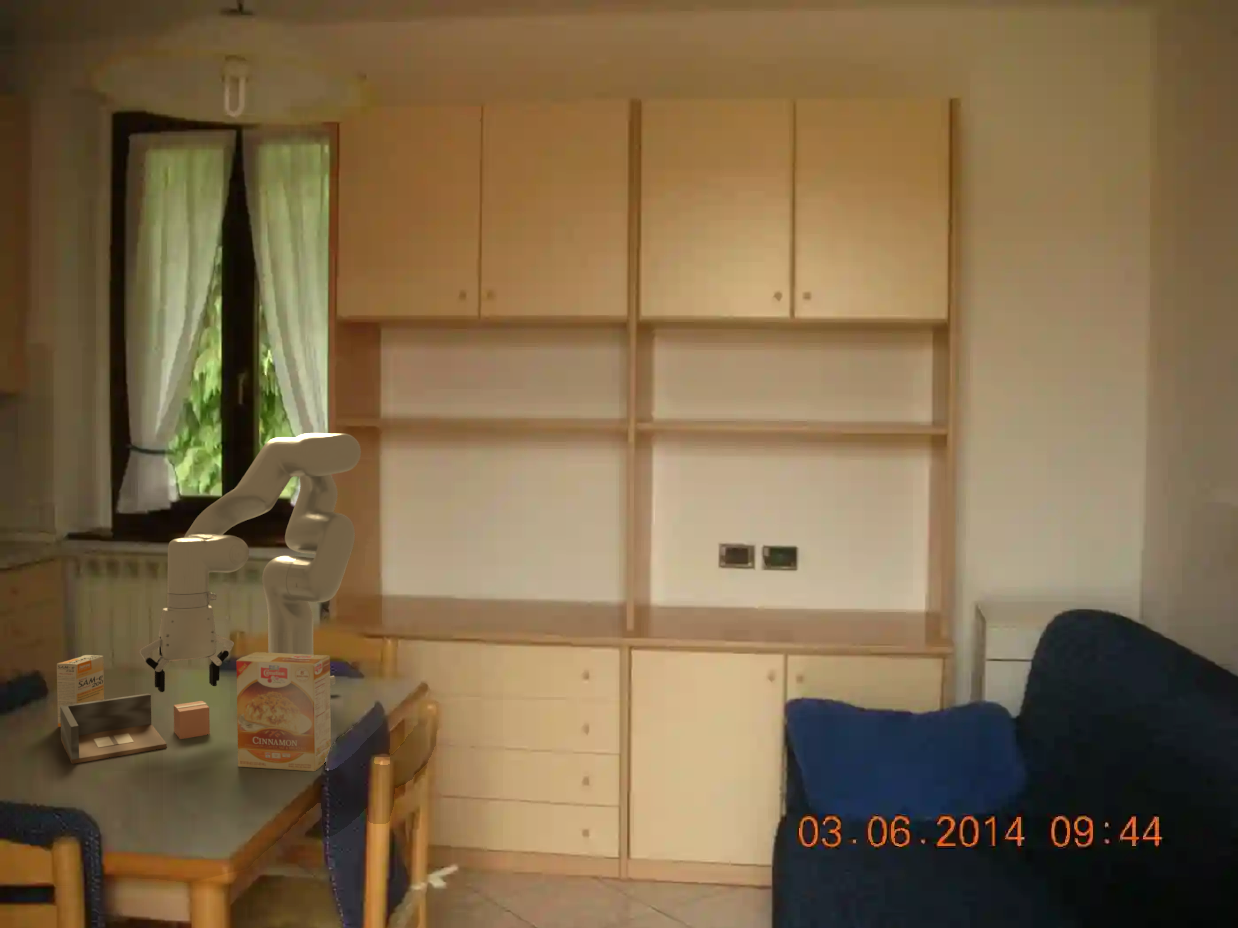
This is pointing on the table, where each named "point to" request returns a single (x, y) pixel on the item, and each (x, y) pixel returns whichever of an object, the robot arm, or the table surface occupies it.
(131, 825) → the table surface
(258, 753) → the coffeecake box
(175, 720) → the cube
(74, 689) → the supplement box
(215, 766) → the table surface
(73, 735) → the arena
